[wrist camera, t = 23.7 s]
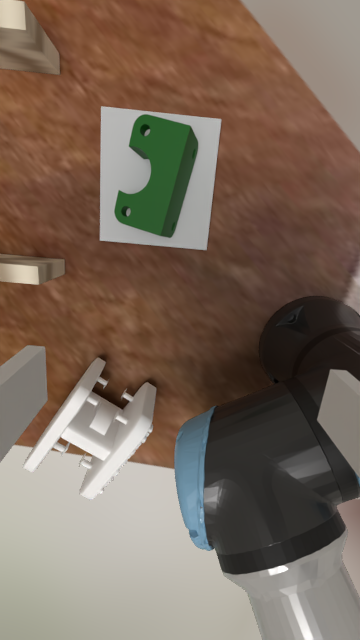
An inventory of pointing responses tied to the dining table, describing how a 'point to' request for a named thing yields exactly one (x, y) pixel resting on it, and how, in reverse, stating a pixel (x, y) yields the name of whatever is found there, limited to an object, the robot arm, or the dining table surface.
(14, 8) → the stand
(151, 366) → the dining table surface
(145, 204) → the clamp
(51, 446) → the cable organizer
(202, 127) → the grey pad
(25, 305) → the dining table surface
